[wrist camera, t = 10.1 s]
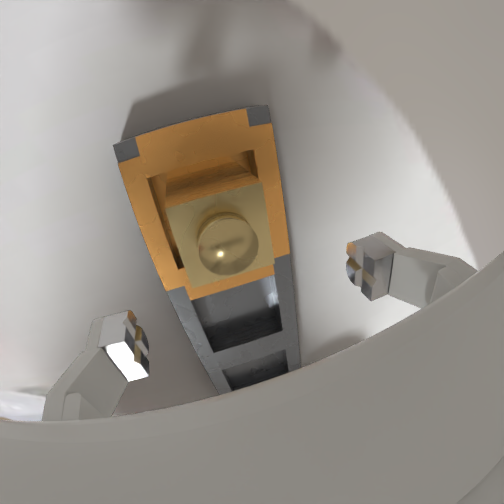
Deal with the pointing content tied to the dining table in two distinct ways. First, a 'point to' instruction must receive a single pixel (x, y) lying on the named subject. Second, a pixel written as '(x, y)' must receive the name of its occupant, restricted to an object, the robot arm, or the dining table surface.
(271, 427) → the robot arm
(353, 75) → the dining table surface
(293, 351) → the rail
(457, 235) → the dining table surface
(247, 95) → the dining table surface
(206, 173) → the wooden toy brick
